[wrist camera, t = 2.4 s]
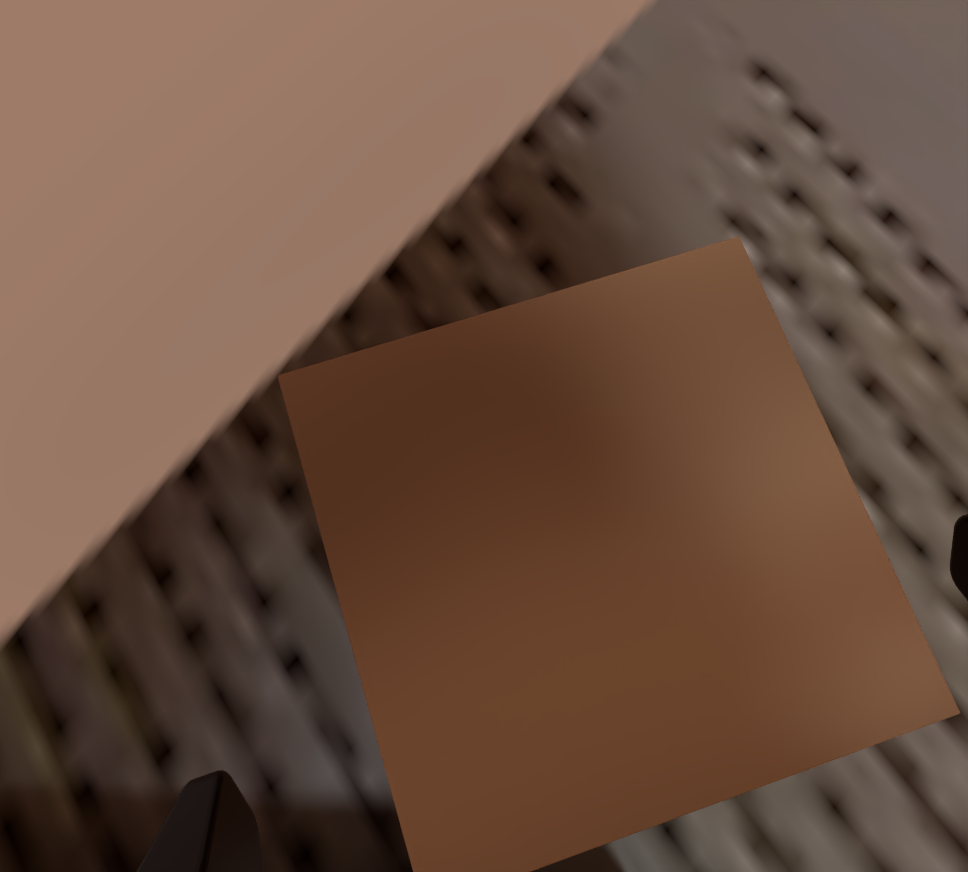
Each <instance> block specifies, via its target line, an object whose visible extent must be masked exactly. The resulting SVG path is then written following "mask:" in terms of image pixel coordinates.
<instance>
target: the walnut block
mask: <svg viewBox="0 0 968 872" xmlns="http://www.w3.org/2000/svg"><path fill="white" fill-rule="evenodd" d="M277 376H278V380H279V384H280V387H281V391H282V395H283V398H284V402H285V405H286V409H287V413H288V416H289V420H290V424H291V427H292V431H293V435H294V438H295V442H296V446H297V449H298V453H299V457H300V460H301V464H302V468H303V471H304V475H305V479H306V482H307V486H308V489H309V493H310V497H311V500H312V504H313V508H314V511H315V515H316V519H317V522H318V526H319V530H320V533H321V537H322V541H323V544H324V548H325V552H326V555H327V559H328V563H329V566H330V570H331V573H332V577H333V581H334V584H335V588H336V592H337V595H338V599H339V603H340V606H341V610H342V614H343V617H344V621H345V625H346V628H347V632H348V636H349V639H350V643H351V647H352V650H353V654H354V657H355V661H356V665H357V668H358V672H359V676H360V679H361V683H362V687H363V690H364V694H365V698H366V701H367V705H368V709H369V712H370V716H371V720H372V723H373V727H374V731H375V734H376V738H377V742H378V745H379V749H380V752H381V756H382V760H383V763H384V767H385V771H386V774H387V778H388V782H389V785H390V789H391V793H392V796H393V800H394V804H395V807H396V811H397V815H398V818H399V822H400V826H401V829H402V833H403V836H404V840H405V844H406V847H407V851H408V855H409V858H410V862H411V866H412V869H413V872H531V871H533V870H536V869H539V868H542V867H544V866H547V865H550V864H553V863H555V862H558V861H561V860H563V859H566V858H569V857H572V856H574V855H577V854H580V853H582V852H585V851H588V850H591V849H593V848H596V847H599V846H601V845H604V844H607V843H610V842H612V841H615V840H618V839H620V838H623V837H626V836H629V835H631V834H634V833H637V832H639V831H642V830H645V829H648V828H650V827H653V826H656V825H658V824H661V823H664V822H667V821H669V820H672V819H675V818H677V817H680V816H683V815H686V814H688V813H691V812H694V811H696V810H699V809H702V808H705V807H707V806H710V805H713V804H715V803H718V802H721V801H724V800H726V799H729V798H732V797H734V796H737V795H740V794H743V793H745V792H748V791H751V790H753V789H756V788H759V787H762V786H764V785H767V784H770V783H772V782H775V781H778V780H781V779H783V778H786V777H789V776H791V775H794V774H797V773H800V772H802V771H805V770H808V769H810V768H813V767H816V766H819V765H821V764H824V763H827V762H829V761H832V760H835V759H838V758H840V757H843V756H846V755H848V754H851V753H854V752H857V751H859V750H862V749H865V748H867V747H870V746H873V745H876V744H878V743H881V742H884V741H886V740H889V739H892V738H895V737H897V736H900V735H903V734H905V733H908V732H911V731H914V730H916V729H919V728H922V727H924V726H927V725H930V724H933V723H935V722H938V721H941V720H943V719H946V718H949V717H952V716H954V715H957V714H960V711H959V709H958V707H957V705H956V703H955V701H954V698H953V696H952V694H951V692H950V690H949V688H948V685H947V683H946V681H945V679H944V677H943V675H942V673H941V670H940V668H939V666H938V664H937V662H936V660H935V657H934V655H933V653H932V651H931V649H930V647H929V645H928V642H927V640H926V638H925V636H924V634H923V632H922V629H921V627H920V625H919V623H918V621H917V619H916V617H915V614H914V612H913V610H912V608H911V606H910V604H909V602H908V599H907V597H906V595H905V593H904V591H903V589H902V586H901V584H900V582H899V580H898V578H897V576H896V574H895V571H894V569H893V567H892V565H891V563H890V561H889V558H888V556H887V554H886V552H885V550H884V548H883V546H882V543H881V541H880V539H879V537H878V535H877V533H876V530H875V528H874V526H873V524H872V522H871V520H870V518H869V515H868V513H867V511H866V509H865V507H864V505H863V502H862V500H861V498H860V496H859V494H858V492H857V490H856V487H855V485H854V483H853V481H852V479H851V477H850V474H849V472H848V470H847V468H846V466H845V464H844V462H843V459H842V457H841V455H840V453H839V451H838V449H837V446H836V444H835V442H834V440H833V438H832V436H831V434H830V431H829V429H828V427H827V425H826V423H825V421H824V418H823V416H822V414H821V412H820V410H819V408H818V406H817V403H816V401H815V399H814V397H813V395H812V393H811V390H810V388H809V386H808V384H807V382H806V380H805V378H804V375H803V373H802V371H801V369H800V367H799V365H798V362H797V360H796V358H795V356H794V354H793V352H792V350H791V347H790V345H789V343H788V341H787V339H786V337H785V334H784V332H783V330H782V328H781V326H780V324H779V322H778V319H777V317H776V315H775V313H774V311H773V309H772V306H771V304H770V302H769V300H768V298H767V296H766V294H765V291H764V289H763V287H762V285H761V283H760V281H759V278H758V276H757V274H756V272H755V270H754V268H753V266H752V263H751V261H750V259H749V257H748V255H747V253H746V250H745V248H744V246H743V244H742V242H741V240H740V238H739V236H738V237H735V238H732V239H728V240H725V241H722V242H718V243H715V244H712V245H708V246H705V247H702V248H699V249H695V250H692V251H689V252H685V253H682V254H679V255H675V256H672V257H669V258H665V259H662V260H659V261H655V262H652V263H649V264H645V265H642V266H639V267H635V268H632V269H629V270H626V271H622V272H619V273H616V274H612V275H609V276H606V277H602V278H599V279H596V280H592V281H589V282H586V283H582V284H579V285H576V286H572V287H569V288H566V289H562V290H559V291H556V292H553V293H549V294H546V295H543V296H539V297H536V298H533V299H529V300H526V301H523V302H519V303H516V304H513V305H509V306H506V307H503V308H499V309H496V310H493V311H489V312H486V313H483V314H480V315H476V316H473V317H470V318H466V319H463V320H460V321H456V322H453V323H450V324H446V325H443V326H440V327H436V328H433V329H430V330H426V331H423V332H420V333H416V334H413V335H410V336H407V337H403V338H400V339H397V340H393V341H390V342H387V343H383V344H380V345H377V346H373V347H370V348H367V349H363V350H360V351H357V352H353V353H350V354H347V355H343V356H340V357H337V358H334V359H330V360H327V361H324V362H320V363H317V364H314V365H310V366H307V367H304V368H300V369H297V370H294V371H290V372H287V373H284V374H280V375H277Z"/></svg>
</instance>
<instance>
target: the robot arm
mask: <svg viewBox="0 0 968 872" xmlns="http://www.w3.org/2000/svg"><path fill="white" fill-rule="evenodd" d="M950 572H951V576H952V579H953V581H954V583H955V585H956V586H957V588H958V589H959V590H960V592H961V593H962V594H963V595H964V597H965V598H966V599H967V601H968V514H966V515H963V516H961V517H960V518H958V520H957V521H956V523H955V526H954V532H953V541H952V550H951V559H950ZM136 872H262V864H261V854H260V843H259V834H258V827H257V823H256V819H255V816H254V814H253V812H252V810H251V808H250V807H249V805H248V803H247V802H246V800H245V798H244V797H243V795H242V794H241V792H240V790H239V789H238V787H237V785H236V784H235V782H234V781H233V779H232V777H231V776H230V775H229V774H228V773H227V772H226V771H223V770H221V771H216V772H213V773H210V774H207V775H204V776H201V777H198V778H196V779H193V780H191V781H190V782H188V783H187V784H186V785H185V787H184V788H183V790H182V791H181V793H180V795H179V797H178V798H177V800H176V802H175V804H174V805H173V807H172V809H171V811H170V813H169V814H168V816H167V818H166V820H165V821H164V823H163V825H162V827H161V829H160V830H159V832H158V834H157V836H156V837H155V839H154V841H153V843H152V845H151V846H150V848H149V850H148V852H147V853H146V855H145V857H144V859H143V861H142V862H141V864H140V866H139V868H138V869H137V871H136Z"/></svg>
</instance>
